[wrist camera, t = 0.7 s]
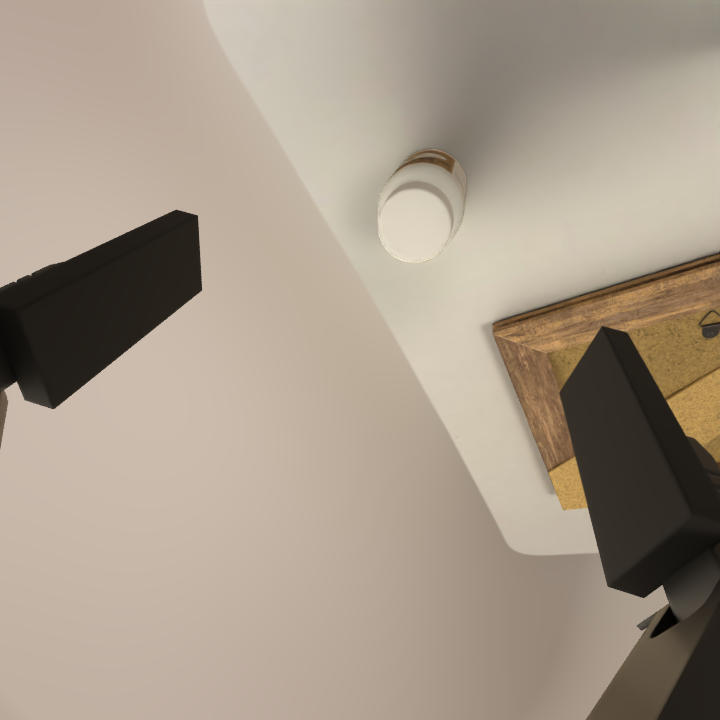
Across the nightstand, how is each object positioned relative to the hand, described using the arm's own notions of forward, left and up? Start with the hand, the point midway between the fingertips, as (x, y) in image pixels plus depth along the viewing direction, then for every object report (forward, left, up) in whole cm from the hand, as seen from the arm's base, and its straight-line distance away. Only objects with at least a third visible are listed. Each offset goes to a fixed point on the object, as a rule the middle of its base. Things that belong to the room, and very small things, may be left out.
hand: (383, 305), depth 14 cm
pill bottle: (0, 0, -15) cm, 15 cm away
